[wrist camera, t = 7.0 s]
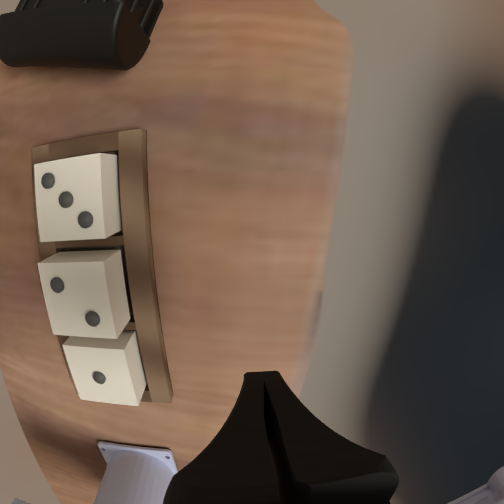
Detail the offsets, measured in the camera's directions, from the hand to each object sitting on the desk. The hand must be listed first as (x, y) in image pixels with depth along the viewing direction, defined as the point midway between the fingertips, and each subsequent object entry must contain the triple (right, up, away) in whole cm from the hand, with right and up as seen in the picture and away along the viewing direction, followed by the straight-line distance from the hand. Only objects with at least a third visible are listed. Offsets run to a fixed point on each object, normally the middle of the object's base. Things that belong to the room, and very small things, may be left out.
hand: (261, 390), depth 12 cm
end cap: (-12, +22, +5) cm, 25 cm away
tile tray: (-12, +4, +9) cm, 15 cm away
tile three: (-12, +9, +7) cm, 17 cm away
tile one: (-11, -3, +10) cm, 16 cm away
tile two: (-11, +3, +8) cm, 14 cm away
